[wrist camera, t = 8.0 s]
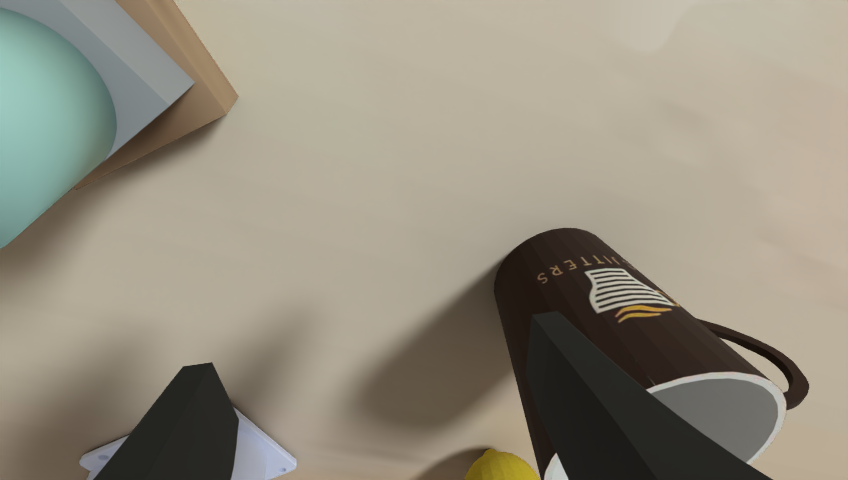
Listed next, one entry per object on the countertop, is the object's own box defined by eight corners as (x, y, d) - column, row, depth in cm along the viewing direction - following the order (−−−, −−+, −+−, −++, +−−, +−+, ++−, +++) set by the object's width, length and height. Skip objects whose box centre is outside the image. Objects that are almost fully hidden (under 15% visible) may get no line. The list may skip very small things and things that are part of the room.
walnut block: (108, 161, 17) (76, 189, 15) (-41, 3, 14) (-107, 12, 12) (240, 93, 17) (226, 113, 15) (118, -89, 14) (77, -95, 11)
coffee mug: (444, 315, 24) (496, 509, 16) (533, 182, 20) (663, 344, 12) (602, 361, 28) (709, 533, 20) (700, 258, 25) (881, 416, 16)
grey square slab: (89, 172, 15) (49, 207, 13) (-80, 42, 12) (-163, 60, 10) (195, 82, 14) (170, 105, 12) (36, -79, 11) (-32, -86, 9)
